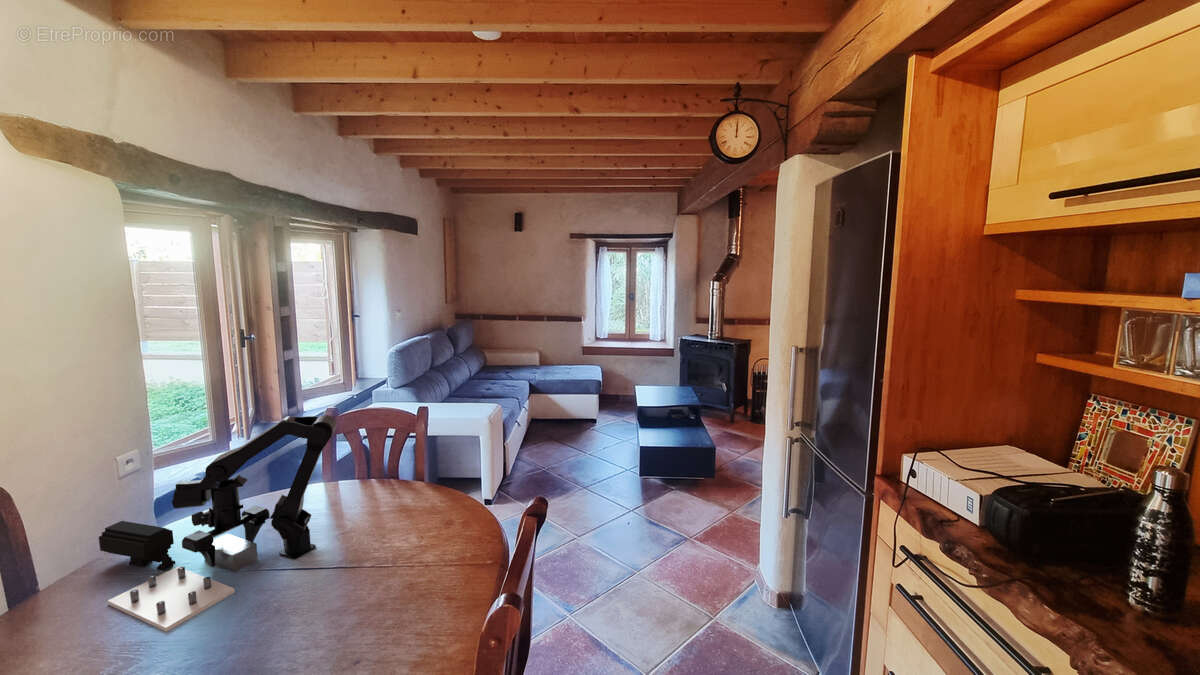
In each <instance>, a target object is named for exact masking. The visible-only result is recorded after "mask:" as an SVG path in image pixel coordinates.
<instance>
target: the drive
mask: <svg viewBox="0 0 1200 675" xmlns="http://www.w3.org/2000/svg"><path fill="white" fill-rule="evenodd" d="M213 541H214V542H213V544H212V545H215V566H216V567H218V568H222V569H224V570H227V571H230V572H232V573H236V572H238V571H240V570H241V569H244V568H246V567H247V566H249V565H251V564H253V563H255V562H256V561H258V560H259V559H258V546H257V545H258V544H257V542H251V541H248V540H246V539H245V538H241V537H239V536H236V535H233V534H230V533H224V534H223V535H220V536H218V537H216V538H214V539H213ZM204 562H205V563H208V562H207V561H206V559H205V558H204Z"/></svg>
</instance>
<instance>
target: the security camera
mask: <svg viewBox="0 0 1200 675" xmlns="http://www.w3.org/2000/svg"><path fill="white" fill-rule="evenodd" d="M174 542H175V541H174V533H173V530H172V529H169V528H166V527H163V526H157V525H150V524H143V523H137V522H131V521H125V520H121V521H118V522H116V523H113V524H112V525H109V526H107V527H104V531H101V535H100V536H98V545H99V550H100V552H105V553H108V554H113V555H119V556H123V557H129V558H130V559H129V560H130V561H128V565H129V566H133V567H139V568H144V567H146V566H148V565H150V564H151V563H159V564H158V566H157V567H156V570H157V571H161V572H165V571H168V570H169V569H170V568H171V569H172V567H174V565H175V564H176V561H175V560H173V558H172V556H170V554H169V549H171V548H172V545H174V544H175V543H174Z"/></svg>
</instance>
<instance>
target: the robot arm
mask: <svg viewBox="0 0 1200 675" xmlns="http://www.w3.org/2000/svg"><path fill="white" fill-rule="evenodd" d="M337 427H338V422H337V420H336V418H334V417H333V416H331V415H327V414H326V415H325V414H324V415H321V416H313V415H312V416H311V415H310V416H309V415H308V416H294V415H293V416H292V415H287V416H285V417H284V418H282V419H281V420H279V422H277V423H276V424H274V425H273V426H270V428H267V430H265V431H264V432H262V433H260V434H259V435H257V436H256V437H254V438H253V439H251V440H250V441H248V442H247V443H245V444H244V445H243V444H242V445H241V446H239V447H236V448H233V449H231V450H228V451H226V452H224V453H222V454H220V455H218V456H217V457H216V458H215V459H214V460H213V461H212V462H211V463H209V464H208V465H207V466H206V468H205V473H204V474H205V476H204V477H203V478H202V479H196V480H179V481H178V482H177V483H176V484H175V490H174V493H173V496H172V500H171V503H172V507H173V508H174V509H175V510H177V509H187V508H196V507H204V506H206V504H207V502H210V500H211V505H212V506H211V507H209V509H208V510H207V511H204V512H203V511H202V510H201V511H197V512H195V513H192V514H191V523H192V525H193V527H196V526H200V525H201V527H204V526H207V527H208V528H210V529H212V528H213V529H212V530H210V531H207V532H205V531H203V530H197V531H196V532H193V533H191V534H188V535H186V536H184V537H183V538H182V540H181V547H182V549H184V550H188V551H190V552H192V553H200V554H201V555H202V557H204V558H205V559H206V561H207V562H206V563H208V566H210V567H211V568H214V567H215V566H216V565H215V545H212V544H213V542H214V541H213V540H214V539H215V538H217V537H220V536H222V534H223V535H224V534H226V532H230V531H232V530H233V529H235V528H238V527H239V526H243V527H244V535H245V538H244V539H245V540H248V541H251V542H254V541H255V539H256V537H257V536H258V533H259V531H260V530H261V528H262V526H263V525H264V524H266V521H267V520H269V519H270V520H271V527H272V528H273V529H274V530H275V531H277V533H278V534H279V536H280V537H281V539H282V540H283V549H282V550H280V551H279V553H278V554H279V555H280V556H284V557H287V558H290V559H293V560H296V559H298V558H300V557H302V556H303V555H305V554H307V553H308V552H310V551H312V550H313V549H316V547H317V546H316V544H314V543H311V533H310V532H311V531H310V528H309V526H308V524H309V522H310V521H311V518H312V514H311V513H309V512H308V511H307V510H305V509H303V507H304V501H305V499H304V498H305V493H306V490H307V488H308V486H309V483H310V480H311V479H312V476H313V473H314V472H315V469H316V466H317V464H318V461H319V459H320V456H321V454H322V452H323V450H324V448H325V447H326V446H327V444H328V442H329V441H330V439H331V438H332V436H333V435H334V433H335V431H336V429H337ZM287 435H289V436H294V437H298V438H300V439H304V440H305V439H306V446H305V452H304V455H303V457H302V460H301V462H300V464H299V466H298V468H297V469H298V470H297V472H296V473H295V476H294V479H293V481H292V483H291V486H290V489H289V490H288V494H287V495H284V494H281V496H280V497H279V499H278V500H277V501H276V504H275V505H274V508H273V509H274V510H273V512H272V513H270V510H269V509H267V508H266V507H262V506H259V505H254V506H252V507H250V508H248V509H245V510H243V511H242V512H241V509H243V508H244V503H241V502H240V501H241V500H240V492H239V488H242V487H244V486H245V484H246V483H247V482H248V479H247V478H245V477H243V476H241V474H238V475H236V477H235V478H231V477H232V476H233V475H234V474H235V473H236V472H238V471H239V469H241V468H242V467H243V465H245V464H246V463H247V462H248V461H250V460H251V459H252V458H254V457H255V456H257V455H258V454H260V453H262V452H263V451H264V450H266V449H268V448H269V447H270V446H272V445H273V444H275V443H277V442H278V441H279V440H281V439H283V438H284V437H285V436H287ZM254 543H255V542H254ZM205 559H204V560H205Z"/></svg>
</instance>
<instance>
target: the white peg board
mask: <svg viewBox="0 0 1200 675" xmlns="http://www.w3.org/2000/svg"><path fill="white" fill-rule="evenodd" d="M185 567H186V566H175V567H173V568H171V569H170V570H167V571H166V572H163V573H162V574H159V575H158V576H157V575H156V574H152V575H150V576H148V577H147V581H145V582H143V583H140V584H139V585H137V586H135V587H133V588H131V589H129V590H127V591H125V592H123V593H121V594H119V595H118V594H117V595H116V596H115V597H112V598H110V599H108V600H107V605H109V606H110V607H113V608H115V609H116V610H119V611H122V612H123V613H125V614H128V615H130V616H132V617H134V618H135V619H138V620H140V621H142V622H145V623H146V624H149V625H151V626H152V627H155V628H157V629H159V630H160V631H164V632H166V633H167V632H169V631H171V630H172V629H174V628H175V627H178V626H179V625H181V624H182V623H185V622H186V621H187V620H190V619H191V618H193V617H195V616H196V615H198V614H200V613H201V612H203V611H205V610H206V609H209V608H210V607H212V606H214V605H215V604H217V603H218V602H220V601H222V600H224V599H225V598H227V597H229V596H231V595H233V594H235V588H234V587H231V586H229V585H226V584H224V583H221V582H220V581H219V582H218V581H216V580H214V579H211V577H212V576H203V575H201V574H198V573H196V572H193V571H190V570H187V569H186V568H185Z"/></svg>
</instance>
